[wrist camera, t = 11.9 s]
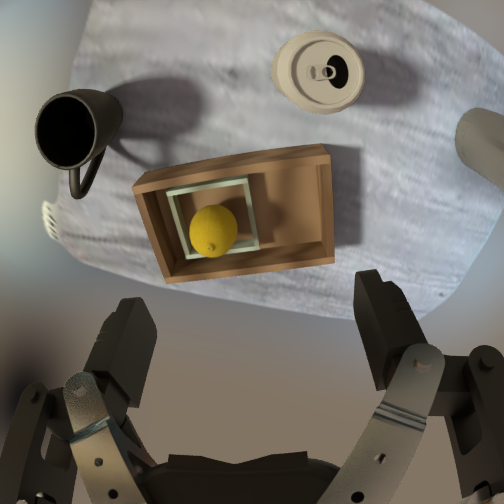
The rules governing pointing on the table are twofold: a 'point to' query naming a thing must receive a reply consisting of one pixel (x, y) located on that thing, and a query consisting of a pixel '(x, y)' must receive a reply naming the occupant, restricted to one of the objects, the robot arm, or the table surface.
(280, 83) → the can
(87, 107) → the mug
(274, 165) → the caddy
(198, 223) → the lemon
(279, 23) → the table surface
